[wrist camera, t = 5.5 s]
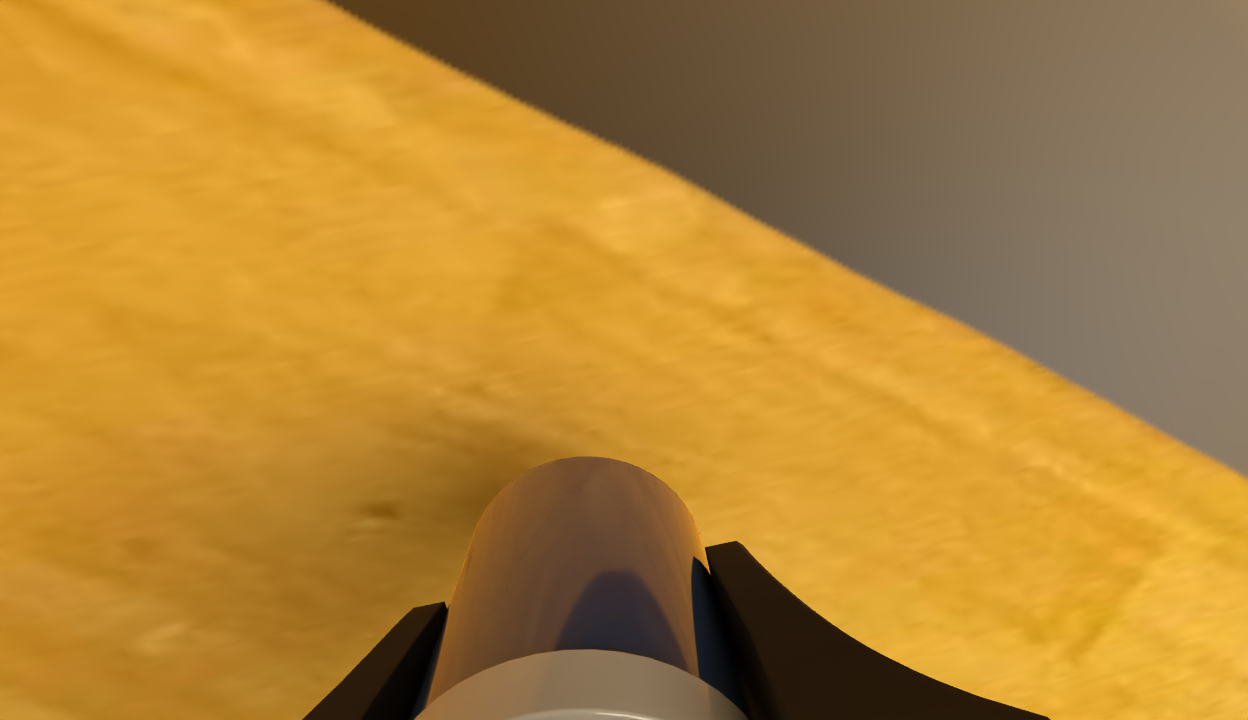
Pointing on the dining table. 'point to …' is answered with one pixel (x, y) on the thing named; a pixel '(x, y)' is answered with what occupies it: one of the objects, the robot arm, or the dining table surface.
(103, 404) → the dining table surface
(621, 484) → the spice jar
